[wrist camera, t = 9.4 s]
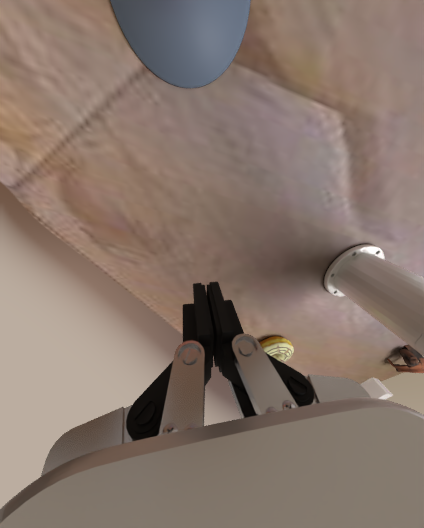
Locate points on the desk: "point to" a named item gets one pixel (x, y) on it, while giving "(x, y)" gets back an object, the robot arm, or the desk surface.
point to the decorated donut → (277, 348)
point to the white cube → (376, 389)
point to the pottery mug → (410, 361)
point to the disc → (184, 36)
